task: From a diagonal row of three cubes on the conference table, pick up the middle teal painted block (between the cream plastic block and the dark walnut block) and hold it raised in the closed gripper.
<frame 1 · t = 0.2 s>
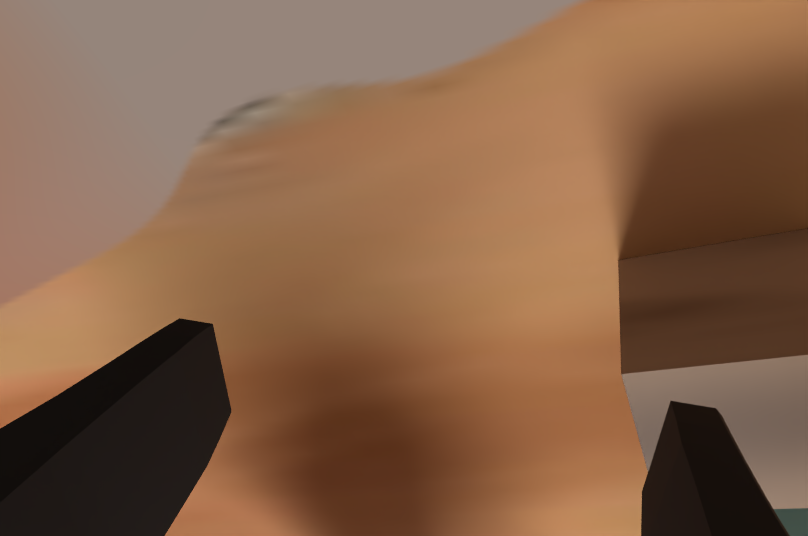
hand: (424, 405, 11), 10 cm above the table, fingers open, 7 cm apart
teal block: (756, 509, 24), on the table
walnut block: (722, 313, 20), on the table
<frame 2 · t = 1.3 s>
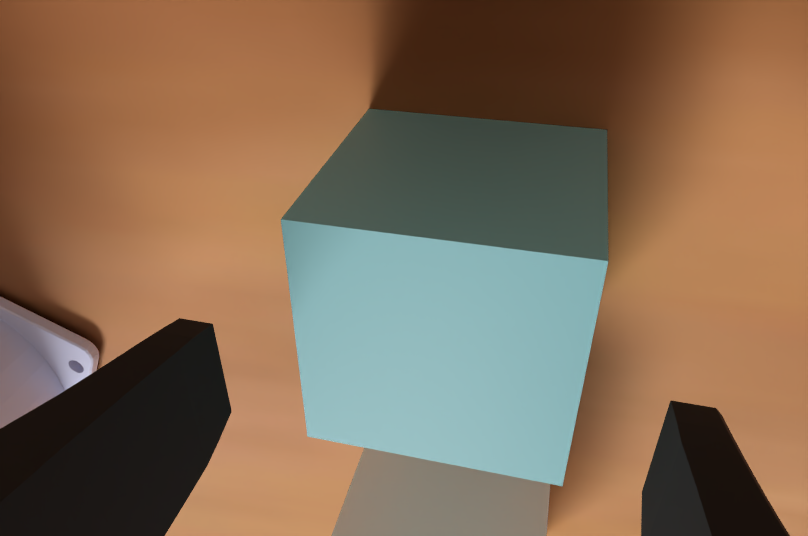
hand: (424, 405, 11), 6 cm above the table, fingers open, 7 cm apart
teal block: (477, 220, 15), on the table
cream block: (461, 473, 21), on the table
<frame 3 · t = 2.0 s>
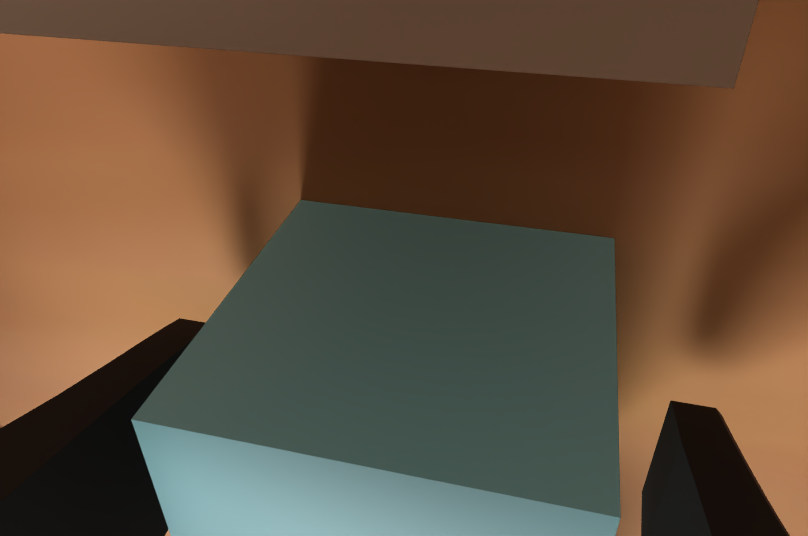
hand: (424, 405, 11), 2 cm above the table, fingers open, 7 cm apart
teal block: (445, 336, 12), on the table
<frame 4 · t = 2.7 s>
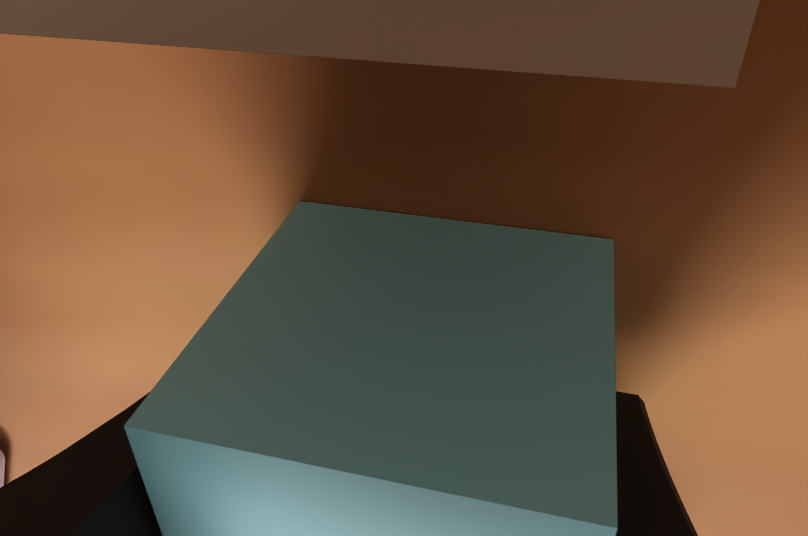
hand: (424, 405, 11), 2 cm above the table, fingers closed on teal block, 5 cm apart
teal block: (444, 340, 12), on the table, touching gripper
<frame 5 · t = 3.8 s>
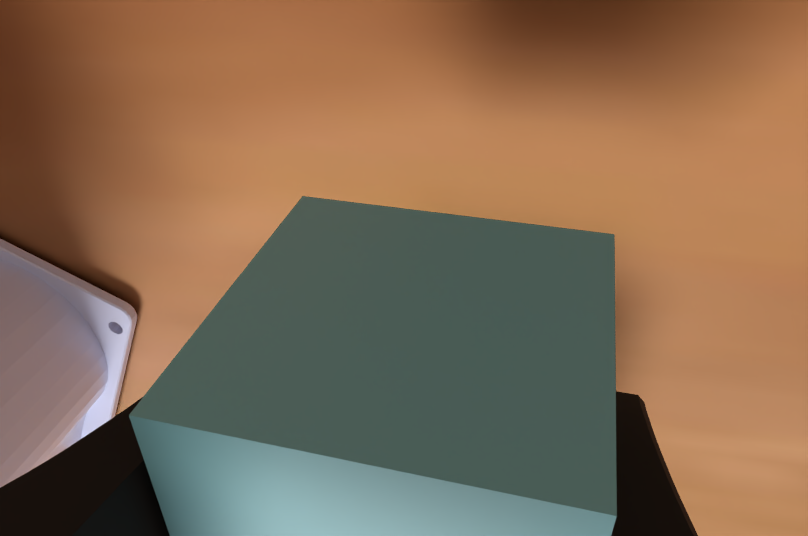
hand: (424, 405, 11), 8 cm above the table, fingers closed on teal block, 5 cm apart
teal block: (445, 335, 12), point 6 cm above the table, touching gripper
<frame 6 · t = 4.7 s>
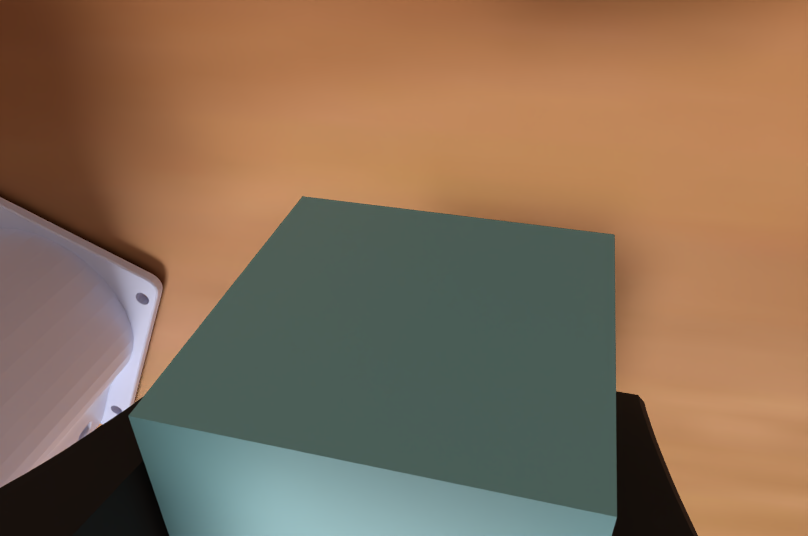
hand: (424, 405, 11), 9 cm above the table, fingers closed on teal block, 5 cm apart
teal block: (445, 335, 12), point 8 cm above the table, touching gripper
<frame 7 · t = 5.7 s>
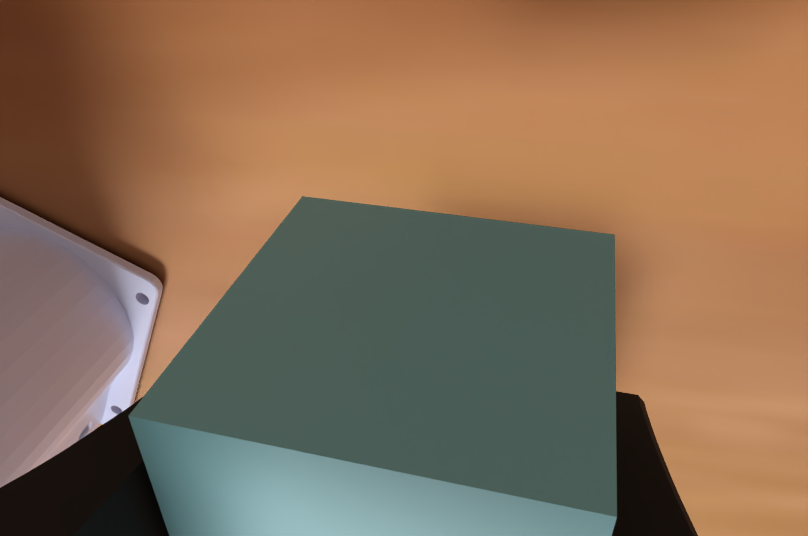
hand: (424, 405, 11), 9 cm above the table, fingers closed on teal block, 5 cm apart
teal block: (445, 335, 12), point 8 cm above the table, touching gripper
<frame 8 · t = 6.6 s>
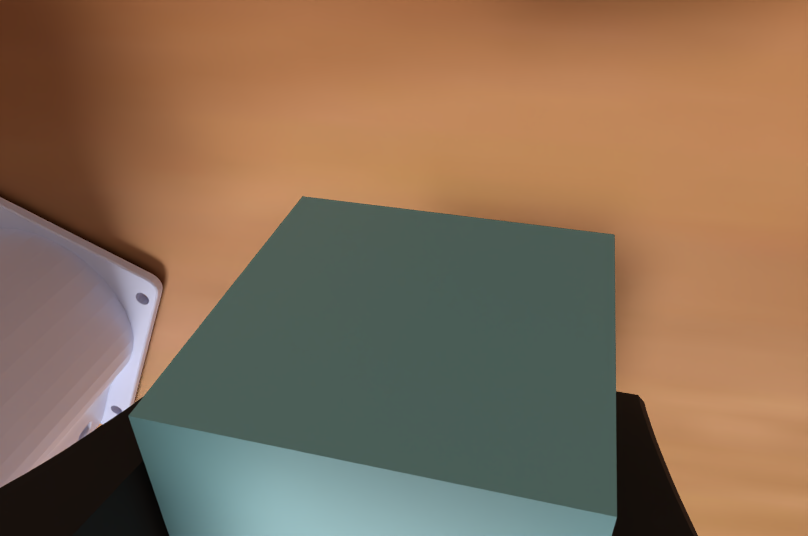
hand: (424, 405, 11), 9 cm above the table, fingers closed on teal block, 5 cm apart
teal block: (445, 335, 12), point 8 cm above the table, touching gripper
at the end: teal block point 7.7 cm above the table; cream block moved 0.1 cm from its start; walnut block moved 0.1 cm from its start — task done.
